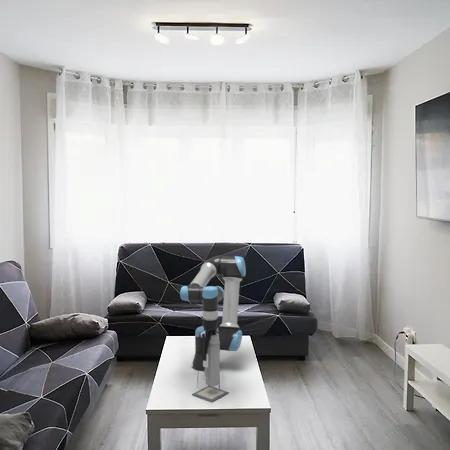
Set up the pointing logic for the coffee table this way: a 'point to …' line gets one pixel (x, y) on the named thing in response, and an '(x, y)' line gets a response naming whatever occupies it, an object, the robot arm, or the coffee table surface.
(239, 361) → the coffee table surface
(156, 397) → the coffee table surface
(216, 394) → the coaster mat
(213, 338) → the water bottle
